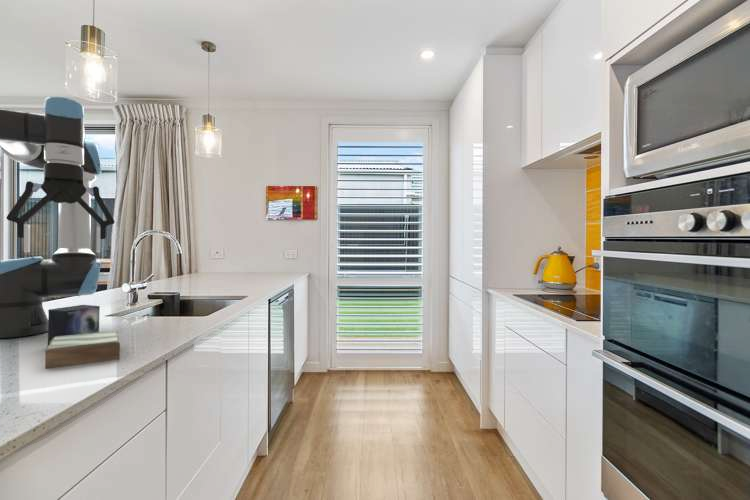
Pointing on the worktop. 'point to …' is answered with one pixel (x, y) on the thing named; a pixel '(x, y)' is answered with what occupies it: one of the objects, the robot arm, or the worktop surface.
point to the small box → (73, 321)
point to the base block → (82, 349)
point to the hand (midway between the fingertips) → (64, 252)
